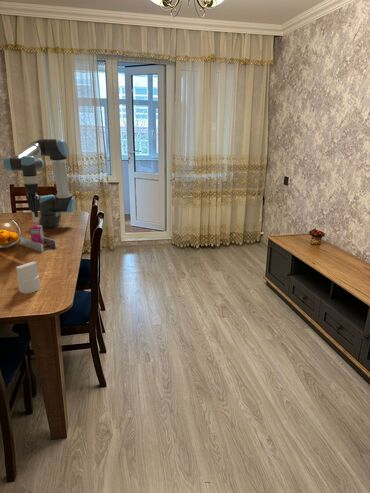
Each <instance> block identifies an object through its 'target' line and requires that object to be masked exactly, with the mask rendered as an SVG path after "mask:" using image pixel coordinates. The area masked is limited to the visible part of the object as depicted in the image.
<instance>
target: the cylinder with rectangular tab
mask: <svg viewBox="0 0 370 493" xmlns="http://www.w3.org/2000/svg"><path fill="white" fill-rule="evenodd" d="M38 269H39V267H38V263H37V261H30V262H28V263H27V262H26V263H24V264H22V265H17V266H15V271H16V276H17V283H18V284H17V285H18V290H19V292H20V293H21V294H32V292H33V293H36V292H37V291H39V290H40V289H41V281H40V275H39V270H38ZM35 291H36V292H35Z"/></svg>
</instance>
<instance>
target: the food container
mask: <svg viewBox="0 0 370 493" xmlns="http://www.w3.org/2000/svg"><path fill="white" fill-rule="evenodd" d="M56 215H57V218H58V220H59V221H61V220H62V212H56Z"/></svg>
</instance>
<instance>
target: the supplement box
mask: <svg viewBox="0 0 370 493" xmlns="http://www.w3.org/2000/svg"><path fill="white" fill-rule="evenodd" d="M43 230H44V229H43V228H42V225H39V224H38V225H32V226H31V227H29V232H30V238H31V239H30V240H32V241H35V242H38V243H41V244H44V243H45V242H44V237H45V236H44V231H43Z"/></svg>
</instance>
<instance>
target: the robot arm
mask: <svg viewBox="0 0 370 493" xmlns="http://www.w3.org/2000/svg"><path fill="white" fill-rule="evenodd" d="M69 151H70V150H69V145H68V143H67V142H66V140H64V139H61V138H60V139H59V138H41V139H38V140H35V141H32V142H31V143H29V144H28V145H27V146H26V148H25V149H23V150H22V151H20V152H19V153H17V154H16V155H14V156H12V157H5V158H4V159H3V162H2V164H3V168H4V169H5V170H6V171H9V172H10V171H12V172H22V177H23V178H22V180H23V183H24V184H23V185H24V186H23V187H24V190H25V191H26V193H24V196H25V198H26V202H27V206H28V209H29V211H30V212H31V216H32V222H33V223H38V225H42V229H43V228H45V229H47V228H55V227H59V226H60V225H61V224H60V220H58V218H57V215H56V212H61V213H66V214H68V213H73V212H74V211H75V208H76V197H74V196H73V195H72V193H71V192H70V186H69V180H68V173H67V166H66V161H67V158H68V157H69V155H70V152H69ZM40 157H49V161H51V162H52V168H53V174H54V179H55V186H56V191H57V192H56V194H55V195H54V194H48V195H42V196H41V195H38V190H39V184H38V183H39V181H38V175H37V174H38V173H37V172H38V171H39V172H40V171H41V170H43V169H44V167H45V162H44V160H43V159H42V158H40ZM39 216H40V217H39Z"/></svg>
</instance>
